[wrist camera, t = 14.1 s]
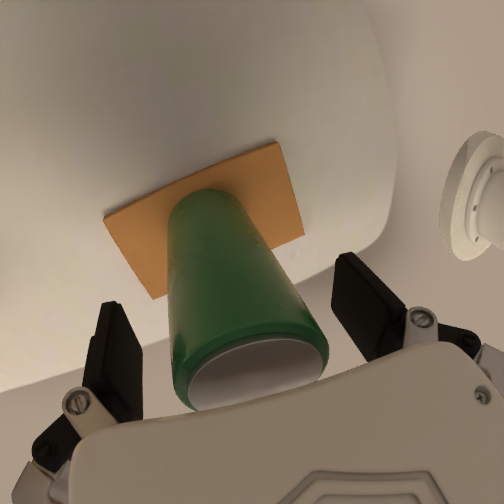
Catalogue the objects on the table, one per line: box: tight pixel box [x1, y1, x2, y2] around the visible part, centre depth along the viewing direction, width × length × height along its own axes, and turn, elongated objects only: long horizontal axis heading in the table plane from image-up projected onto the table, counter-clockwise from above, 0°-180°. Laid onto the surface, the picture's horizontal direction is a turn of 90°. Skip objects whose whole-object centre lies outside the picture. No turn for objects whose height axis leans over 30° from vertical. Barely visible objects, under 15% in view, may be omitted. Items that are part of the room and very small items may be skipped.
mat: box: [103, 142, 305, 300], centre depth 19 cm, size 12×7×1 cm, turn 109°
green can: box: [167, 189, 329, 412], centre depth 13 cm, size 5×5×12 cm
